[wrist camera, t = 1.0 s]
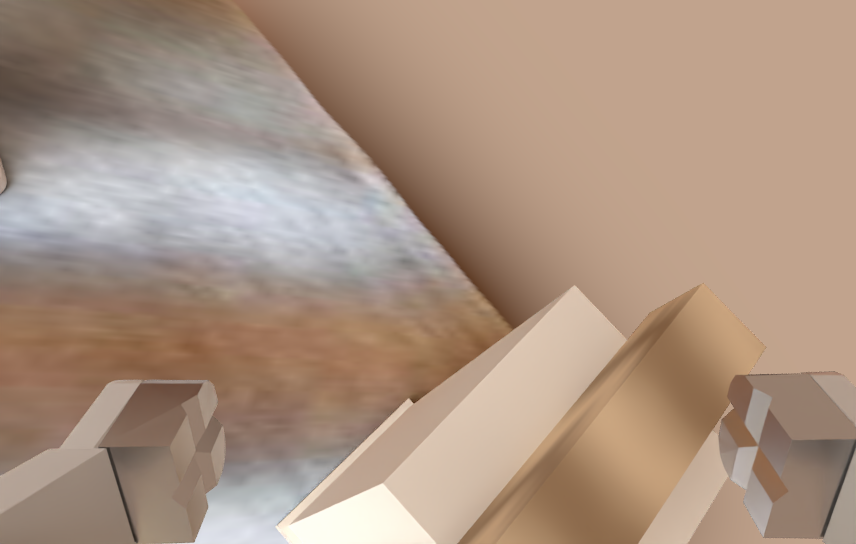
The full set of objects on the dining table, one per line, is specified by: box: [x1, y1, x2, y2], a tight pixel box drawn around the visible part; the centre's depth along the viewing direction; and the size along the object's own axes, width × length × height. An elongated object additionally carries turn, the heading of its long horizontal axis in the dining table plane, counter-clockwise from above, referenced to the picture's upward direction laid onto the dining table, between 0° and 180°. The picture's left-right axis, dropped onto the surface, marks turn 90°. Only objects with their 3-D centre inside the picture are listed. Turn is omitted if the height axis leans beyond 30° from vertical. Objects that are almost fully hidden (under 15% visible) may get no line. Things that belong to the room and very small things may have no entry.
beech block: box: [457, 283, 766, 544], centre depth 22 cm, size 22×4×4 cm, turn 135°
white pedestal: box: [276, 285, 728, 544], centre depth 36 cm, size 13×11×26 cm
